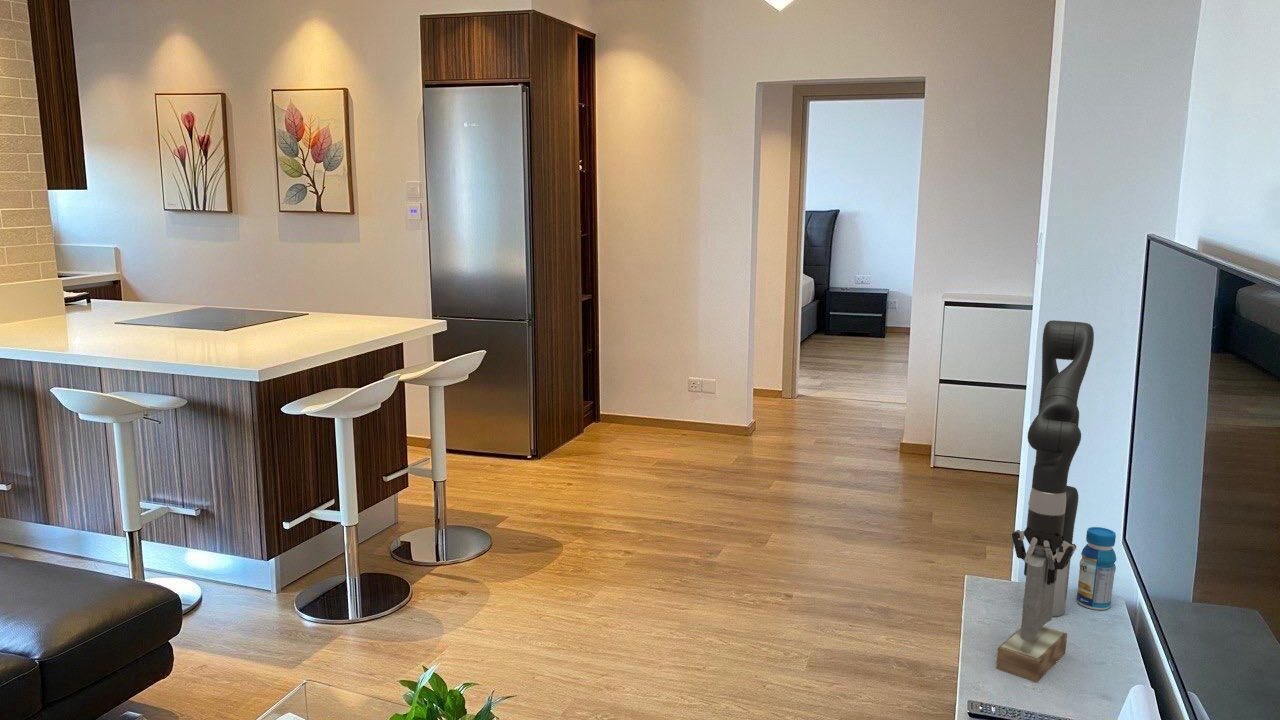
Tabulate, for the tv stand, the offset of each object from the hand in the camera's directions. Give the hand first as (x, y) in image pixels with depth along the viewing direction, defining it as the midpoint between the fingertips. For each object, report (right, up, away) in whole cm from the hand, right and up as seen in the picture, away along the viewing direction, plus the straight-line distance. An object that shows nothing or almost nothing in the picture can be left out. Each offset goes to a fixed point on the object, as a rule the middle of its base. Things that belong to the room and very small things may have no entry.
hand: (1039, 580), depth 215 cm
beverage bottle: (+28, -14, +34) cm, 46 cm away
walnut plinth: (0, -19, +4) cm, 19 cm away
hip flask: (0, -11, +2) cm, 11 cm away
